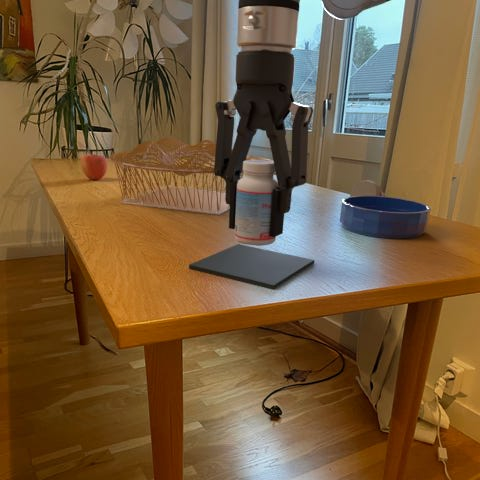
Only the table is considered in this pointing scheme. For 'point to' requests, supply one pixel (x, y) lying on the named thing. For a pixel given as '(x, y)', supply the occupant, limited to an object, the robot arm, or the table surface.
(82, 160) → the apple
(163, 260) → the table surface
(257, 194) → the pill bottle
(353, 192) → the mug
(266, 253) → the mat
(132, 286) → the table surface
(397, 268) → the table surface
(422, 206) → the bowl
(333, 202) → the table surface
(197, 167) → the basket
